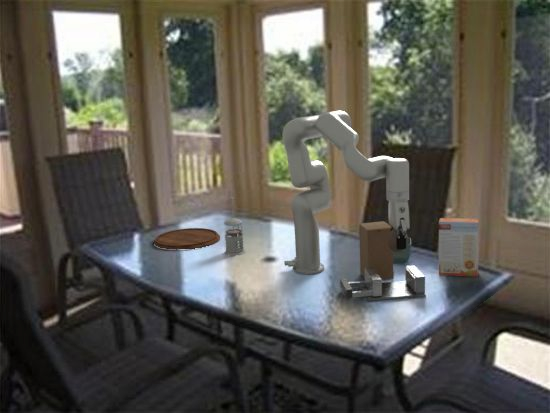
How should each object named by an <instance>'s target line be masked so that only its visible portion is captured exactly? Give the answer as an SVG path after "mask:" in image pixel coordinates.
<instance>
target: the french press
mask: <svg viewBox="0 0 550 413" xmlns="http://www.w3.org/2000/svg"><path fill="white" fill-rule="evenodd" d="M229 201H230V202H231V205H233V201H234V197H232V196H231V197H229ZM231 215H232V218H230V219H227V220H225V221H224V222H223V224H224V225H225V226H229V227H232V229H228V230H226V231H225V233H226V234H225V235H224V237H225V239H224V240H225V252H224V255H225V254H226V256H228V255H230V257H233V256H234V257H236V255H238V256H242V255H244V254H246V253H247V251H246V249H245V248H244V235H243V234H244V233H243V226H242V224H243V221H242V220H241V219H238V218H234V212H233V210H231ZM234 226H235V227H237V229H236V228H234ZM240 227H241V229H240Z"/></svg>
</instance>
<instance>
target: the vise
mask: <svg viewBox="0 0 550 413" xmlns="http://www.w3.org/2000/svg"><path fill="white" fill-rule="evenodd" d="M404 270H405V271H404V273H405V276H404V277H405V280H400V281H398V280H397V281H386V282H385V281H384V282H382V296H374V297H373V296H364V298H365V300H366V301H367V303H376V302H377V303H378V302H387V301H388V302H389V301H400V300H411V299H413V300H414V299H423V298H424V299H425V298H427V294H426V276H425V275H424V274H423V273H422V272H421V270H419V269H418V267H416V265H414V264H413V265H406V266H405V269H404ZM358 288H359V291H365V290H368V288H367V286H364V287H358Z"/></svg>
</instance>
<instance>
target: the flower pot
mask: <svg viewBox="0 0 550 413" xmlns="http://www.w3.org/2000/svg"><path fill="white" fill-rule="evenodd" d="M408 239H409V242H408V247H407V248H406V250H405V251H403V252H394V251H393V265H395V264H397V265H402V264H403V265H406V264H407V263H408V261H409V260H410V256H411V250H412V238H411V237H408Z"/></svg>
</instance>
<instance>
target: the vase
mask: <svg viewBox="0 0 550 413" xmlns="http://www.w3.org/2000/svg"><path fill="white" fill-rule="evenodd" d="M398 229H401V227H400V228H398ZM400 232H402V231H399V234H400ZM396 238H397V230H395V229H394V228H393V230H392V231H391V232H390V234H389V237H388V244H389V247H390V249H391V250H392V251H394V252H403V251H405V250H406V249H399V250H398V249H397V248H396ZM408 238H409V235H408V233H407V232H406V248H407V247H408V242H409V239H408Z"/></svg>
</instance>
